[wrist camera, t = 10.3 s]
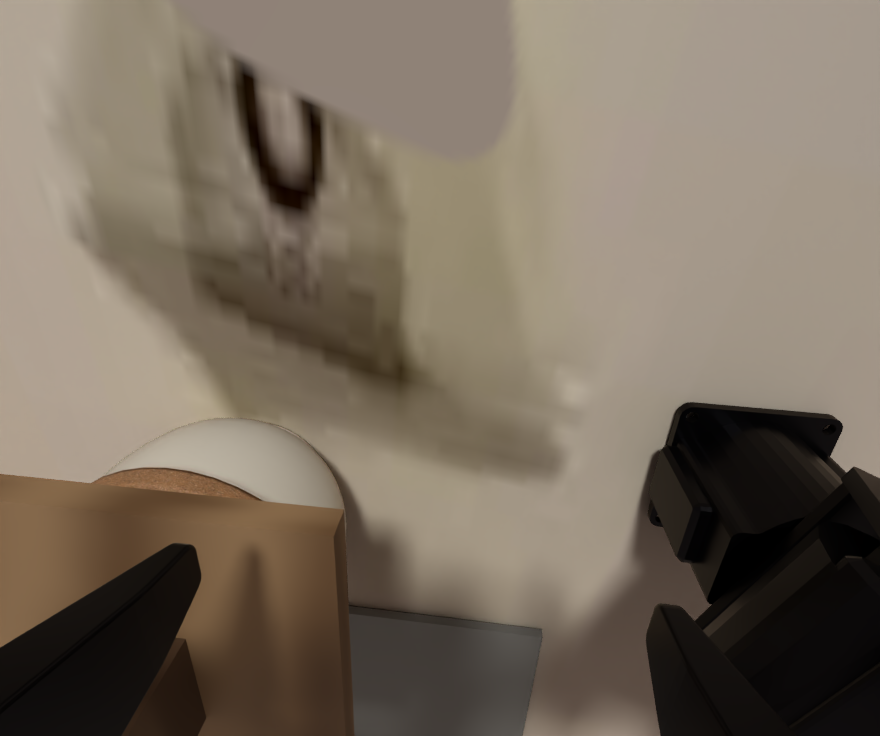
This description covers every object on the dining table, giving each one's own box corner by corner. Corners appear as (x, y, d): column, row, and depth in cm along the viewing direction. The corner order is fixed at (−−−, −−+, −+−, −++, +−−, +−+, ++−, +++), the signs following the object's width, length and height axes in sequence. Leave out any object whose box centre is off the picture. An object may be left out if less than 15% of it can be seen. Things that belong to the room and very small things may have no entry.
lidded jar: (226, 564, 28) (112, 746, 20) (126, 405, 24) (-70, 549, 16) (400, 535, 26) (356, 726, 18) (322, 355, 22) (216, 491, 14)
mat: (541, 629, 28) (542, 637, 28) (512, 775, 34) (512, 783, 34) (201, 588, 29) (197, 595, 29) (234, 735, 36) (231, 743, 35)
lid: (344, 509, 13) (280, 671, 9) (356, 778, 19) (320, 949, 15) (-117, 462, 14) (-356, 592, 10) (29, 733, 20) (-87, 885, 16)
